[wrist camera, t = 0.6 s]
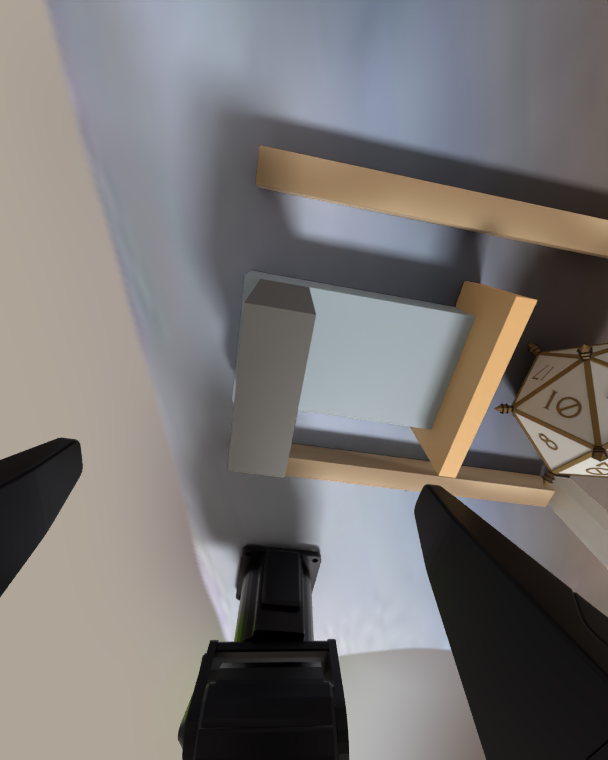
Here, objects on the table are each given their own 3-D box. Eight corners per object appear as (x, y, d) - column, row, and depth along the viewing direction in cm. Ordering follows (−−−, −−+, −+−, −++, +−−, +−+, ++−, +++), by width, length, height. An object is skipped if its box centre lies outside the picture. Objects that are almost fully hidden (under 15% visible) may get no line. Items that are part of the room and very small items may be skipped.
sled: (424, 430, 23) (487, 527, 15) (236, 404, 22) (205, 496, 14) (481, 283, 19) (604, 319, 11) (253, 241, 18) (222, 249, 10)
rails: (531, 491, 25) (545, 507, 24) (231, 453, 23) (227, 468, 22) (679, 241, 18) (712, 242, 17) (262, 152, 16) (259, 145, 14)
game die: (528, 371, 25) (644, 496, 20) (440, 398, 23) (549, 550, 18) (637, 272, 18) (861, 427, 13) (528, 295, 15) (756, 502, 10)
